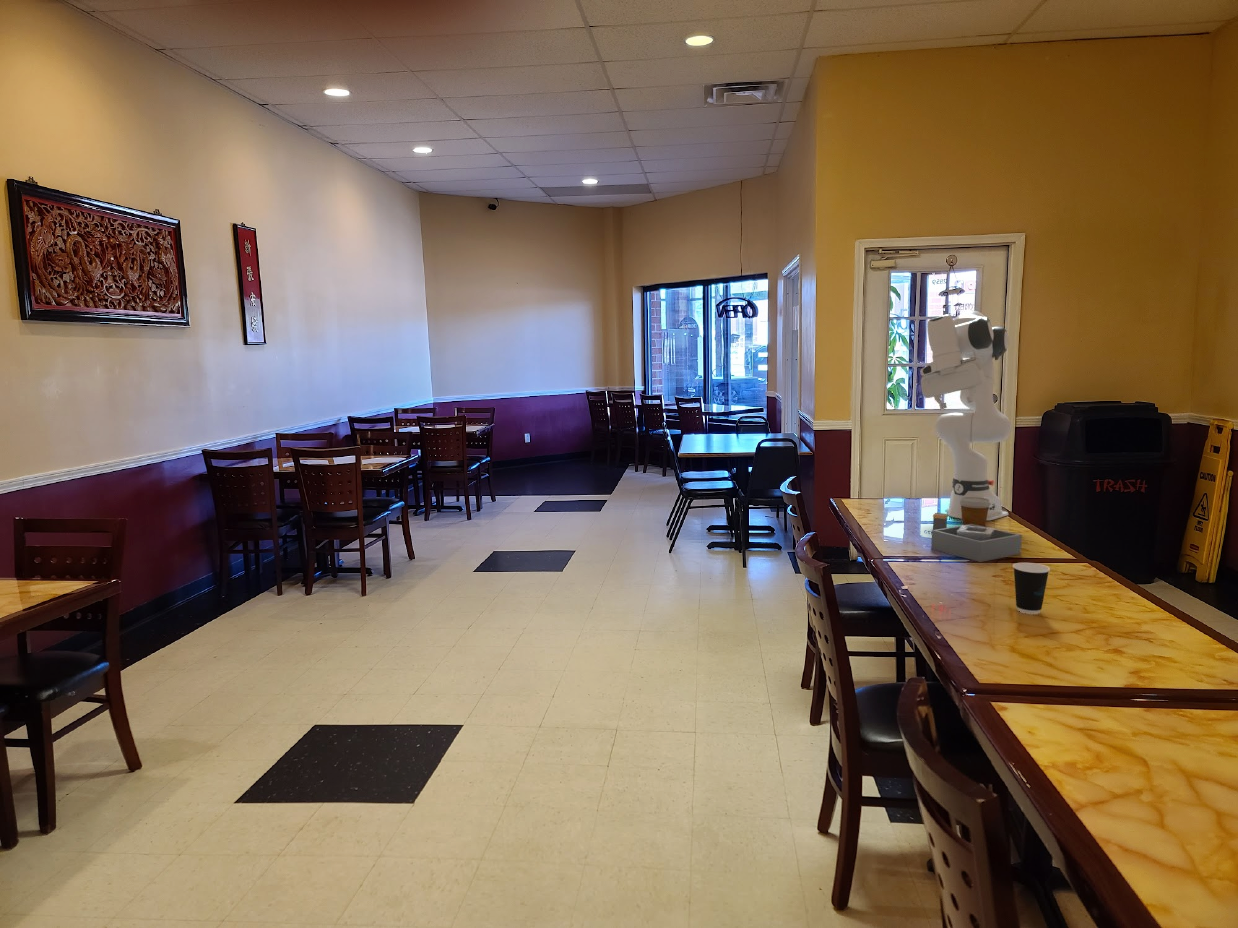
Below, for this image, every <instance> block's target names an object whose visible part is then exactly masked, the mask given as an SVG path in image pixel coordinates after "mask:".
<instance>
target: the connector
mask: <svg viewBox="0 0 1238 928" xmlns="http://www.w3.org/2000/svg"><path fill="white" fill-rule="evenodd" d="M948 516H949V515H948V513H943V512H934V514H933V515H932V518H933V519H932V520H933V522H932V523H933V525H932V530H937V529H943V528H948V525H947V524H948V518H949V517H948Z"/></svg>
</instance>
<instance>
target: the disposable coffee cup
mask: <svg viewBox="0 0 1238 928" xmlns="http://www.w3.org/2000/svg"><path fill="white" fill-rule="evenodd" d="M960 505H961V512H962V519H961V521H962V525H967V524H974V525H979V526H983V527H986V524H987V520H986V519H987V514H988V509H989V506H990V503H989V500H988V499H985V498H979V497H964V498H961V501H960Z"/></svg>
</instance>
